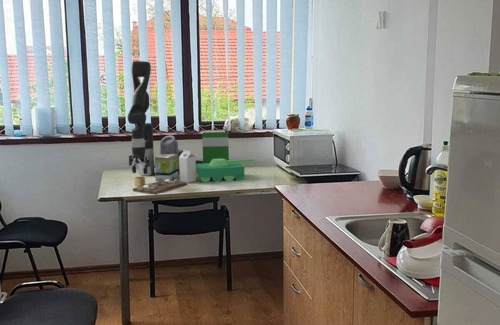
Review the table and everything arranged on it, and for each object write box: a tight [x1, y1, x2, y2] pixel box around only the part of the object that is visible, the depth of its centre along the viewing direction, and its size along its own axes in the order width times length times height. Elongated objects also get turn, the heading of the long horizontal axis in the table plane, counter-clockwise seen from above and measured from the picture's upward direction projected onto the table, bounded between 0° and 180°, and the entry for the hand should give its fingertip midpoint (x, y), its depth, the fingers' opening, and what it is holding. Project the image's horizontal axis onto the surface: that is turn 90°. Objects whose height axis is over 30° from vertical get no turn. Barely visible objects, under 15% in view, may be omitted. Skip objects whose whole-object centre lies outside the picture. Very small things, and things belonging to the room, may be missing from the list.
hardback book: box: [201, 131, 230, 164], centre depth 367 cm, size 18×7×24 cm, turn 92°
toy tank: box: [196, 158, 255, 183], centre depth 330 cm, size 18×12×35 cm
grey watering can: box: [158, 134, 184, 175], centre depth 353 cm, size 30×16×24 cm, turn 161°
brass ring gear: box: [133, 176, 146, 187], centre depth 314 cm, size 6×6×4 cm
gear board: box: [132, 177, 188, 195], centre depth 306 cm, size 16×28×6 cm, turn 148°
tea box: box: [154, 154, 179, 182], centre depth 331 cm, size 15×10×15 cm
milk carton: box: [179, 149, 197, 184], centre depth 321 cm, size 7×7×19 cm
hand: (139, 173), depth 313 cm, fingers open, 8 cm apart
